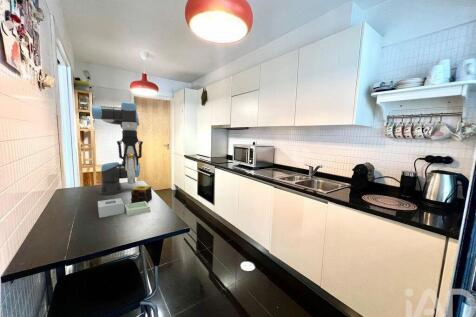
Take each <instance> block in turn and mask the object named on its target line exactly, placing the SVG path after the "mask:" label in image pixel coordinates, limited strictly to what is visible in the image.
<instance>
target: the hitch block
mask: <svg viewBox="0 0 476 317" xmlns="http://www.w3.org/2000/svg"><path fill="white" fill-rule="evenodd" d="M124 205H125V203H124V201H123V200H122V198H121V197H119V198H112V199H111V198H110V199H105V200H104V199H103V200H98V201H97V211H98V218H99V219H100V218H106V217H112V216H117V215H123V214H125V208H124Z"/></svg>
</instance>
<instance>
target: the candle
mask: <svg viewBox="0 0 476 317" xmlns="http://www.w3.org/2000/svg"><path fill="white" fill-rule="evenodd" d="M130 192H131V194H130V196H131V198H130V202H131V203H137V202H144V201H146V202H147V204H148V203H149V202H151V201H152V199H153V193H152V192H153V191H152V185H137V186H135V187H132V188H131V189H130ZM131 203H130V204H131Z"/></svg>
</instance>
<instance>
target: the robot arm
mask: <svg viewBox="0 0 476 317" xmlns="http://www.w3.org/2000/svg"><path fill="white" fill-rule="evenodd" d="M120 105H121V106H120V107H119V106H117V107H115V106H106V105H105V106H103V105H92V106H91V117H92V118H93V119H94V120H95V119H96V120H102V121H103V122H105V123H107V124H111V125H116V126H117V125H119V126H120V129H122V131H121V132H122V133H121V134H122V136H121V137H122V138H121V140H117V141H116V144H117V148H118V158H119V159H121V160H122V161H121V163H119V162H118V161H117V162H116V161H115V162H107V163H105V164H104V163H103V164H102V165H101V167H100V168H101V169H100V170H101V186H100V190H99V194H100V195H103V196H111V195H116V194H120V193H122V192H123V187H122V185H121V182H120V179H121V180H122V179H128V178H127V171H128V167H127V156H126V155H127V154H135V156H134V158H135V178H138V177H139V176H140V172H141V163H140V162H139V159H140V158H142V156H143V154H142V152H143V148H142V147H143V146H142V145H143V143H144V141H143V140H139V139H138V126H140V121H139V115H138V112H137V104H136V103H135V102H129V101H122V102H121V104H120ZM122 143H123V145H122ZM137 143H138V152H137V148H136V147H137V146H136V145H137ZM122 146H123V150H122ZM122 153H123V154H122Z"/></svg>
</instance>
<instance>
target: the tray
mask: <svg viewBox="0 0 476 317" xmlns="http://www.w3.org/2000/svg"><path fill="white" fill-rule="evenodd" d="M150 212H151V206H150V205H149V204H148V203H147V202H146V201H144V202H137V203H126V204H125V203H124V213H126V216H127V217H130V216H136V215H140V214H146V213H147V214H148V213H150Z"/></svg>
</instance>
